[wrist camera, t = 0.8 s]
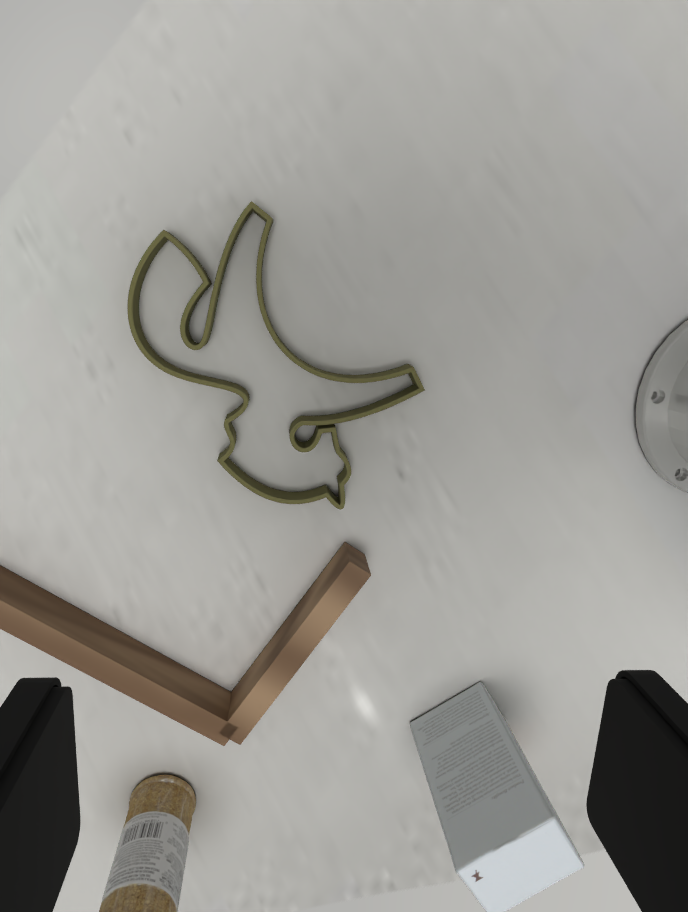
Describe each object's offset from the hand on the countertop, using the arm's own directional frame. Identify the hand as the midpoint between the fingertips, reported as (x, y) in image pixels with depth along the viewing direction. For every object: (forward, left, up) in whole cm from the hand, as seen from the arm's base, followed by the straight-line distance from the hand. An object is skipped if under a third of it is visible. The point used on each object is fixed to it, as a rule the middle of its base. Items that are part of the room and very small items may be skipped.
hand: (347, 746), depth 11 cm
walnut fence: (+11, -3, -28) cm, 31 cm away
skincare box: (+11, +22, -28) cm, 38 cm away
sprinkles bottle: (+27, +8, -28) cm, 40 cm away
